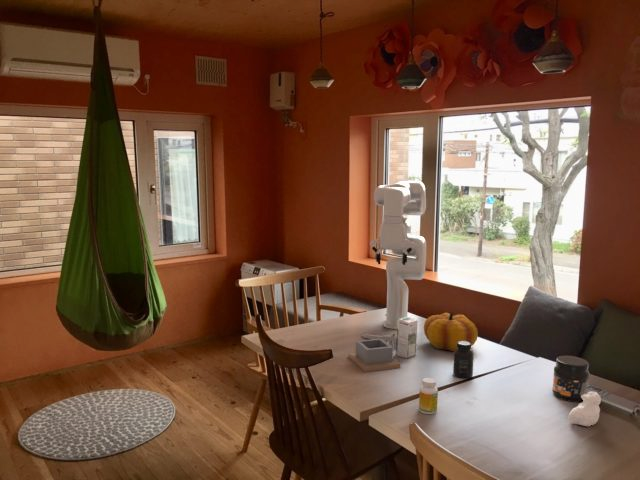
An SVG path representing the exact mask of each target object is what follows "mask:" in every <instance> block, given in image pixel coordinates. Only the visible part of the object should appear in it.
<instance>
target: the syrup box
mask: <svg viewBox="0 0 640 480" xmlns="http://www.w3.org/2000/svg"><path fill="white" fill-rule="evenodd" d="M418 321H419V320H418V319H415V318H412V317H408V316H407V317H405V318H402V319H398V320H397V329H396V335H395V337H396V349H395V355H396V356H398V357H401V358H404V359H409V358H411V357H414V356H416V353H417V340H418V339H417V337H418Z"/></svg>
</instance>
